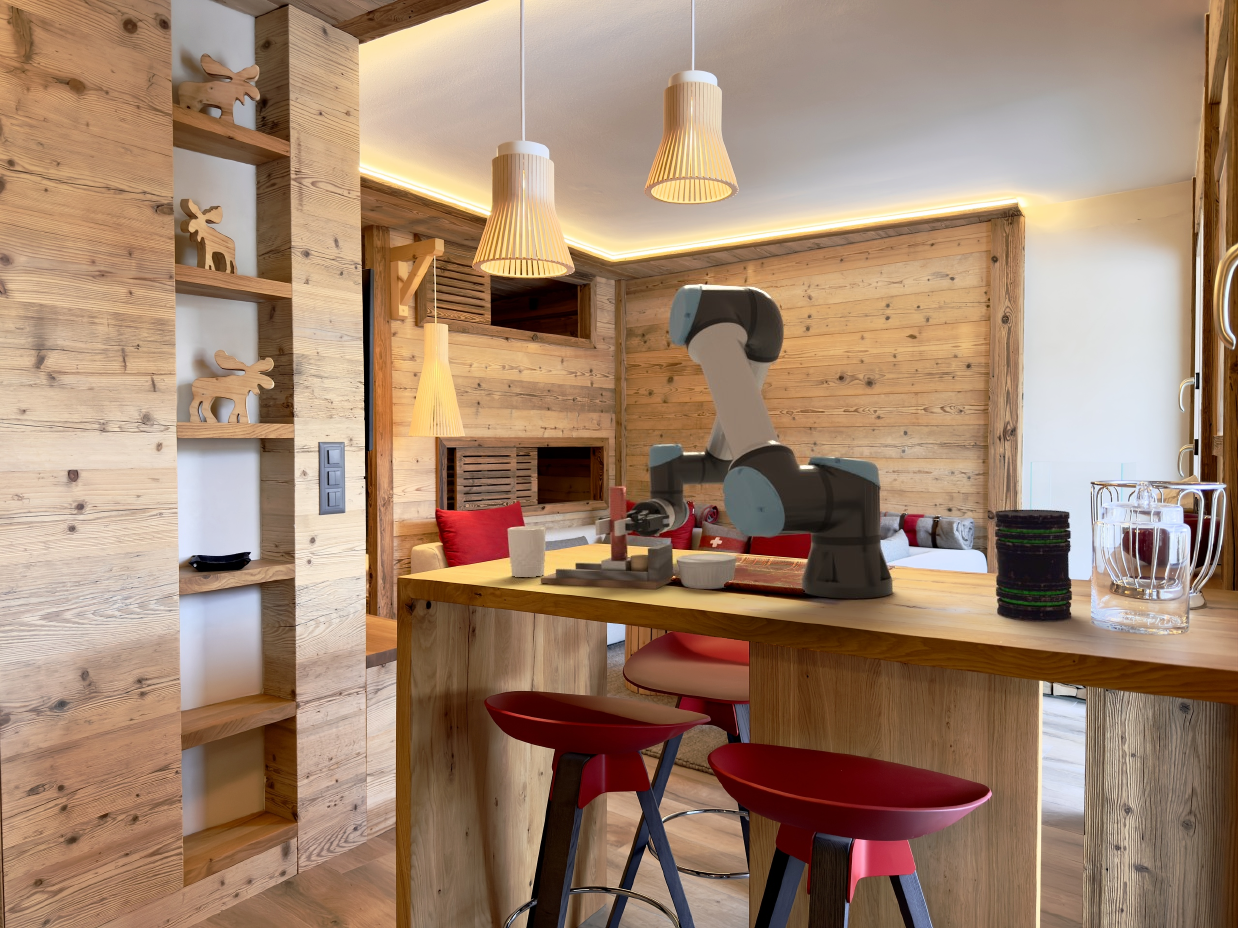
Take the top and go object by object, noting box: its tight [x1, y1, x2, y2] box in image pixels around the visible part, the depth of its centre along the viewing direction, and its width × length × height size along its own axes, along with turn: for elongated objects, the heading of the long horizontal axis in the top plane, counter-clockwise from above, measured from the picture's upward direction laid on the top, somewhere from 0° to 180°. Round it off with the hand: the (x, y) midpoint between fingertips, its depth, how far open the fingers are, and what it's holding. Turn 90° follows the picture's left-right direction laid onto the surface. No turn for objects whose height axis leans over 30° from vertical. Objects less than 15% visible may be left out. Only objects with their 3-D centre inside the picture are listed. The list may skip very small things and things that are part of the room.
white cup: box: [507, 525, 547, 578], centre depth 168 cm, size 8×8×10 cm
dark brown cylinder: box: [994, 509, 1073, 623], centre depth 117 cm, size 10×10×15 cm
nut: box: [630, 554, 648, 572], centre depth 154 cm, size 4×4×4 cm
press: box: [540, 543, 677, 590], centre depth 157 cm, size 24×11×7 cm, turn 67°
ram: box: [600, 486, 631, 571], centre depth 156 cm, size 5×6×17 cm
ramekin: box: [676, 552, 738, 590], centre depth 151 cm, size 11×11×5 cm
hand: (607, 528), depth 151 cm, fingers closed on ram, 3 cm apart
